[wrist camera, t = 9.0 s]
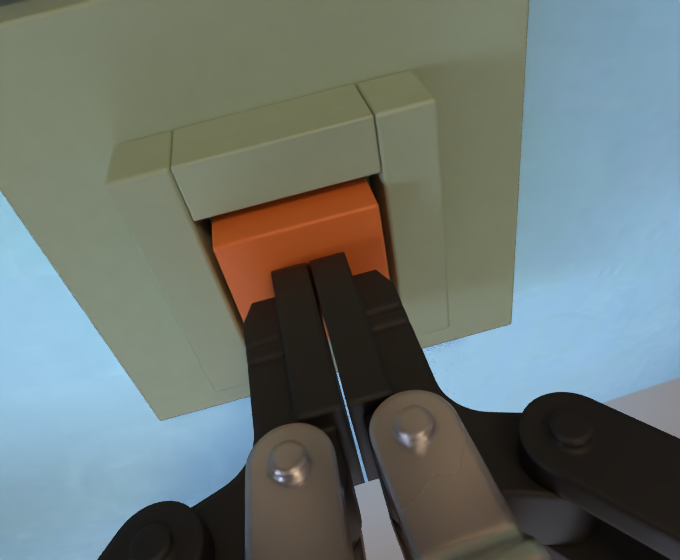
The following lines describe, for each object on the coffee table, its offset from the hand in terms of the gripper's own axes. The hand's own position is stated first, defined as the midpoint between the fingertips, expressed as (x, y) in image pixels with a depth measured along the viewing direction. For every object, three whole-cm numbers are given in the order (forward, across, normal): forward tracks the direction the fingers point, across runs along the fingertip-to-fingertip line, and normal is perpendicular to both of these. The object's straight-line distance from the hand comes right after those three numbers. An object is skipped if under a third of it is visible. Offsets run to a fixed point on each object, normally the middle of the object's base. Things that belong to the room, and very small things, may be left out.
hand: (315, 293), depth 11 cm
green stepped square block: (+5, 0, 0) cm, 5 cm away
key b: (+2, 0, 0) cm, 2 cm away
